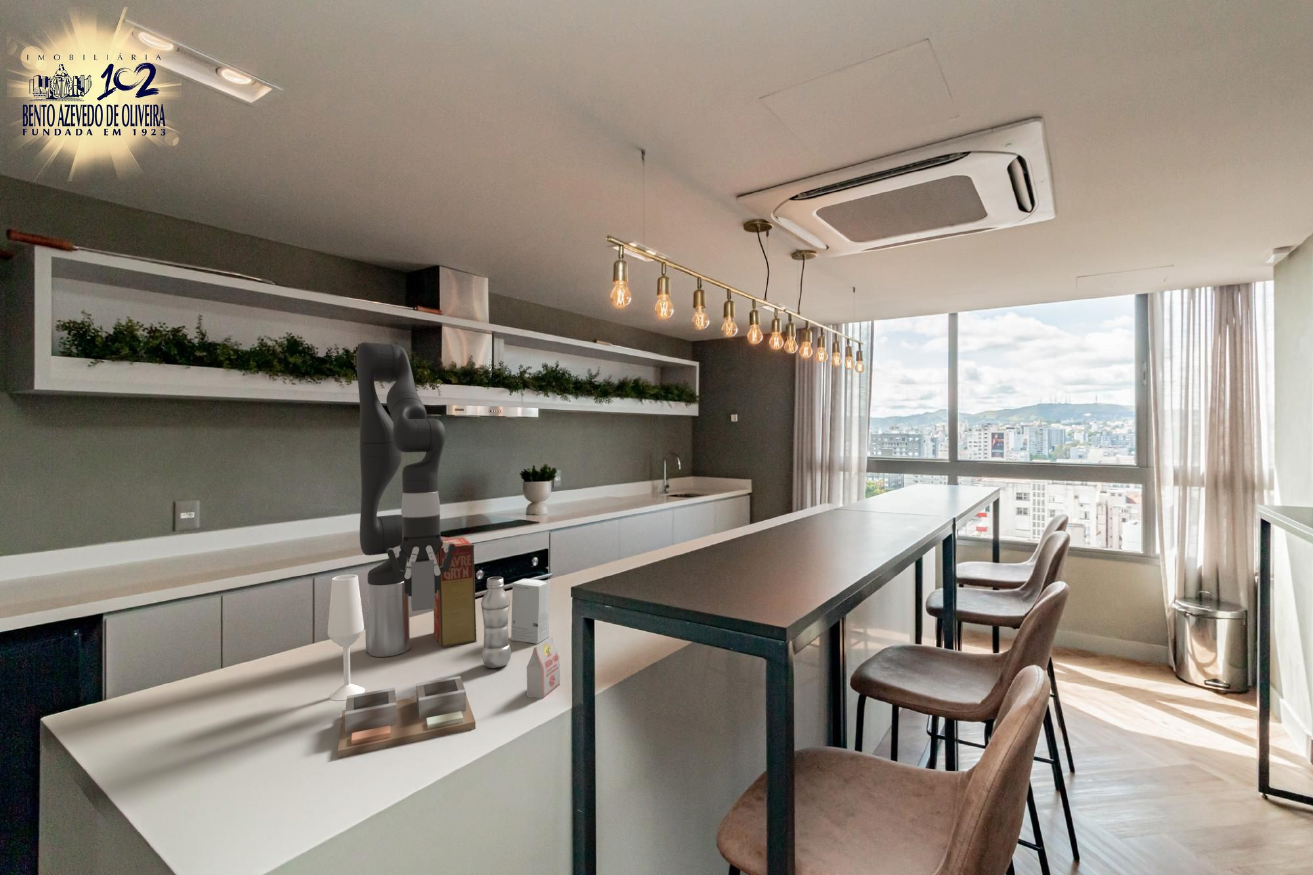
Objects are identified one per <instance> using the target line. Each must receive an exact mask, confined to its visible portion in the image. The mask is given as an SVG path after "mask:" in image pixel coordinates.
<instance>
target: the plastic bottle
mask: <svg viewBox="0 0 1313 875" xmlns="http://www.w3.org/2000/svg"><path fill="white" fill-rule="evenodd" d="M504 586H505V583H504V577H502V576H491V577H488V578H487V579H486V589H487V590H486V592H485V593H484V595H483V597H482V598H481V602H480V606H481V612H482V613H481V614H482V618H483V619H482V620H483V634H484V636H483V647H482V649H481V650H482V651H481V658H482V663H483V665H484V666H485V667H486V668H489V669H491V668H492V669H493V668H494V669H497V668H501V667H504V666H506V665H509V662H510V661H511V656H512V651H511V650H512V649H511V644H510V637H509V612H510V604H511V602H510V601H511V599H510V597H509V595H508V593H507V592H506V591H505V589H504Z"/></svg>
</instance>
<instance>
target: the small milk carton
mask: <svg viewBox="0 0 1313 875" xmlns="http://www.w3.org/2000/svg"><path fill="white" fill-rule="evenodd" d="M560 660H561V659H560V655H559V653H558V650H557V648H556V645H555V642H554V638H553V637H552V636H549V637H548V638H547V639H545V640H543V641H541V642H540V643H538V644H537V645H536V646H535V647H533V650H532V654H531V657H530V659H529V660H528V664H527V665H526V696H527V697H532V698H538V699H544V698H546V697H547V696H549V694H551V693H552V692H553V691H555V689H557V688H558V687H559V686H561V684H560V683H561V681H560V680H561V676H560V675H561V671H560V669H561V668H560V665H561V663H560Z"/></svg>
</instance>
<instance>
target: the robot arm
mask: <svg viewBox="0 0 1313 875" xmlns="http://www.w3.org/2000/svg"><path fill="white" fill-rule="evenodd" d="M411 366H412V365H411V363H410V359H409V356H408V354H407V352H406V350H405V348H404V347H403V346H401V345H399V344H395V343H391V344H390V343H378V342H361V343H360V344H359V346H358V348H357V351H356V375H357V377H356V378H357V384H358V386H357V387H358V398H359V461H360V477H361V478H360V479H361V480H360V484H361V486H360V488H361V489H360V490H361V493H360V494H361V500H360V516H359V517H360V519H359V545H360V548H361V549H360V550H361V551H362V554H364V555H365V556H378V555H387V556H388V559H387V560H385V561H384V562H383V563H380V564H379V565H377V566H375V567H373V568H370V570H369V571H368V573H367V610H368V611H367V612H366V613H365V615H364V618H365V620H364V622H365V623H364V630H365V632H364V633H365V653H368V654H369V655H370V656H371V657H377V658H378V657H379V658H380V657H381V658H382V657H383V658H385V657H392V656H397V655H400V654H402V653H405V652H407V651H408V650H409V649H410V647H411V643H410V642H411V641H410V640H411V639H410V638H411V636H410V635H411V634H410V623H411V622H410V597H411V596H412V583H411V562H416V561H426V560H430V561H432V560H434V585H435V593H437V590H440V575H441V574H442V573H444V572H447V571H449V568H450V565H451V561H452V558H453V554H454V551H455V548H456V546H455V544H454V543H452V542H451V543H447V542H443V541H442V537H441V506H440V504H441V502H440V496H439V467H440V463H441V458H442V453H443V450H444V447H445V443H446V440H447V430H446V428H445V427H446V426H445V425H444V423H442V421H441V420H439V419H437V418H436V419H435V418H427V415H428V414H427V410H426V407H425V405H424V403H423V402H422V400H421V398H420V396H419V393H418V391H417V388H416V385H415V384H416V383H415V380H414V375H413V371H412V367H411ZM375 382H384V383H385V382H386V383H388V382H389V383H393V382H394V383H393V384H392V386H391V387H390V389H389V390H388V392H387V393H386V399H385V400H386V406H387V409H388V412H389V414H390V415H389V414H388V413H387V411H386V409H385V408H384V407H383V405H382V403H381V401H380V399H379V396H378V393H377V391H376V386H375ZM402 453H425V455H424V457H423V459H422V460H420V461H418V462H413V463H409V464H406V465H405V466H403V468H402V472H401V473H402V474H401V476H402V478H401V479H402V480H401V481H402V483H401V484H402V496H401V498H402V499H401V510H400V512H401V514H388V515H379V516H378V508H379V505H380V503H381V502H380V501H381V498H382V496H383V494H384V492H385V490H386V489H387V488H388V486H389V484H390V482H391V481H392V480H393V478H394V477H395V475H396V473H397V472H398V470H399V468H400V466H401V463H402ZM441 547H444V552H445V553H446V555H445V558H444V562H443V565H442V566H440V567H439V566H438V563H437V560H436V558H435V556H436V554H437V553H438V552H439V550H440V549H441Z"/></svg>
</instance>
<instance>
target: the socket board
mask: <svg viewBox="0 0 1313 875" xmlns="http://www.w3.org/2000/svg"><path fill="white" fill-rule="evenodd" d="M415 685H416V689H415V690H416V691H415V692H416V695H415V696H414V697H413V696H412V697H408V698H401V699H397V696H396V687H391V688H390V687H389V688H385V689H378V690H374V691H369V692H364V693H361V694H356V695H350V696H347V700H345V709H343V710H341V711H342V712H341V720H340V728H339V729H340V731H339V736H338V746H337V747H338V748H337V758H338V759H339V758H343V757H348V756H354V755H358V754H364V753H366V752H367V753H368V752H371V751H377V750H382V749H385V748H391V747H395V746H400V745H404V744H405V745H406V744H408V743H414V742H418V741H424V740H427V739H432V738H437V737H443V736H447V735H450V734H455V733H460V732H465V731H471V730H474V729H476V720H475V716H474V714H473V710H472V708H471V705H470V702H469V700H468V697H467V692H466V688H465V686H464V683H463V680H462V677H461V675H459V676H452V677H448V678H440V679H435V680H429V681H424V682H419V683H415Z"/></svg>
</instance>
